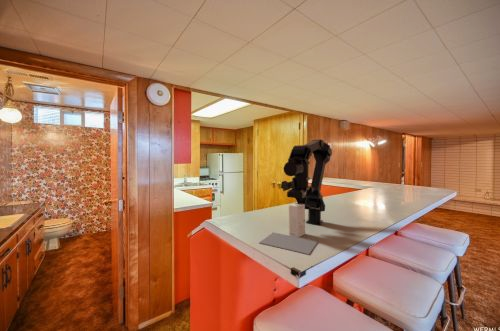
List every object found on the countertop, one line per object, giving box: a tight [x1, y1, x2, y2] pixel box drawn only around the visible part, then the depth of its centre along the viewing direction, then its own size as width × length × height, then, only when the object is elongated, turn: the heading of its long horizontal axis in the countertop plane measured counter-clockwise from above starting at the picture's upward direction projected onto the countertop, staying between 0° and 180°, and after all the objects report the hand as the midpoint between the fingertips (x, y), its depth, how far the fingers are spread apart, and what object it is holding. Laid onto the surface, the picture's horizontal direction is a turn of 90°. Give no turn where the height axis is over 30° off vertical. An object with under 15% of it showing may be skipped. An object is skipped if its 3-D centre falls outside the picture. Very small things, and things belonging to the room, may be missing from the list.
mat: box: [258, 232, 319, 256], centre depth 75 cm, size 12×18×1 cm, turn 59°
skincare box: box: [288, 202, 306, 238], centre depth 83 cm, size 6×4×12 cm
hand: (301, 211), depth 88 cm, fingers closed
